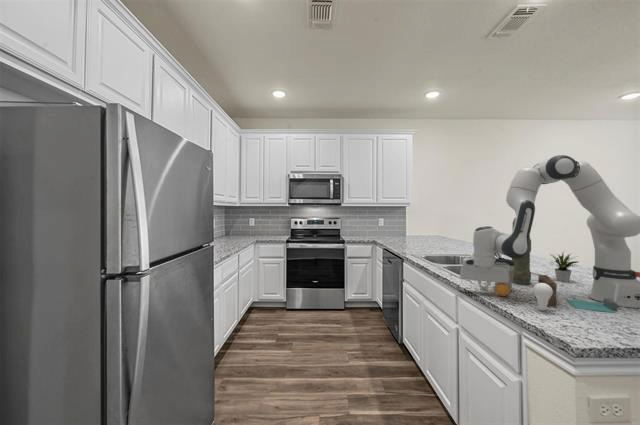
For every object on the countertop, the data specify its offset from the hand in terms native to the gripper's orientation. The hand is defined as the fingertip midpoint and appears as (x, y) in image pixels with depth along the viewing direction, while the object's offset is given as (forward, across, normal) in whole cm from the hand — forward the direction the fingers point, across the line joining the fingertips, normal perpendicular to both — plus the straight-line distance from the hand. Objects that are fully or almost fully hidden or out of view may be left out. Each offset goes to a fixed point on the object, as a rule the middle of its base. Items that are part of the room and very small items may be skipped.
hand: (483, 290), depth 135 cm
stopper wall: (+2, -44, 0) cm, 44 cm away
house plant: (+2, -39, -43) cm, 58 cm away
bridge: (+2, -24, 0) cm, 24 cm away
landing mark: (+2, -38, 0) cm, 38 cm away
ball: (-1, -7, 0) cm, 7 cm away
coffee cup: (+2, -9, -13) cm, 16 cm away
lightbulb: (+2, -19, +15) cm, 24 cm away
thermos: (+2, -19, -30) cm, 35 cm away
